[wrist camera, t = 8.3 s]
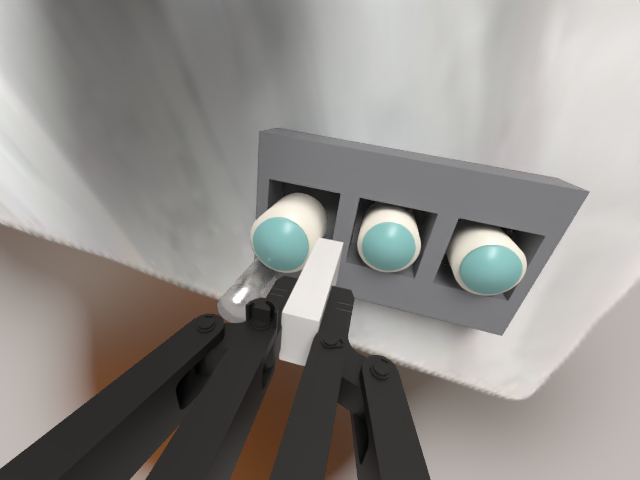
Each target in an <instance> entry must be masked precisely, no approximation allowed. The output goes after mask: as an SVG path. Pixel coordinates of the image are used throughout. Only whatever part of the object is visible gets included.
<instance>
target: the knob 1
mask: <svg viewBox="0 0 640 480" xmlns="http://www.w3.org/2000/svg"><path fill="white" fill-rule="evenodd" d="M327 227H328V218H327V214H326V211H325V209H324V208H323V206H322V205H321V203H320V202H319V201H318V200H316V199H315V198H314V197H312V196H310V195H308V194H304V193H291V194H288V195H286V196H284V197H283V198H281V199H280V200H279V201H278V202H277V203H276V204H274V205H273V206H272V207H271V208H270V209H268V210H267V211H266V212H265V213H264V214H262V215H261V216H260V217H259V218H258V219H257V220H256V221H255V222H254V224H253V226H252V228H251V232H250V242H251V246H252V249H253V251H254V253H255V255H256V256H257V257H258V259H259V260H260V261H261V262H262V263H263V264H265V265H266V266H267V267H269V268H271V269H273V270H275V271H278V272H283V273H292V272H297V271H300V270H302V269H303V268H304V266H305V264H306V262H307V260H308V258H309V256H310V254H311V252H312V250H313V248H314V246H315V244H316V242H317V240H318V238H323V237H324V235H325V233H326V230H327Z"/></svg>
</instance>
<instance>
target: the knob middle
mask: <svg viewBox="0 0 640 480" xmlns="http://www.w3.org/2000/svg"><path fill="white" fill-rule="evenodd" d="M357 247H358V252H359V255H360V257H361V258H362V260H363V261H364V262H365V263H366V264H367V265H368V266H370V267H371V268H373V269H375V270H378V271H381V272H397V271H401V270H403V269H405V268H407V267H409V266H410V265H411V264H412V263H413V262H414V261H415V260H416V259H417V257H418V255H419V253H420V248H421V241H420V237H419V232H418V228H417V224H416V220H415V216H414V213H413V211H412V210H411V209H410V208H408V207H403V206H398V205H393V204H388V203H384V202H379V201H377V202H376V203H374V204H372V205H371V206H370V207H369V208H368V209H367V210H366V212H365V214H364V216H363V220H362V224H361V228H360V232H359V236H358V242H357Z"/></svg>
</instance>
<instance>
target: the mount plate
mask: <svg viewBox="0 0 640 480" xmlns="http://www.w3.org/2000/svg"><path fill="white" fill-rule="evenodd" d="M284 182H287V183H291V184H296V185H301V186H306V187H311V188H316V189H321V190H325V191H330V192H335V193H340V194H341V195H340V201H339V206H338V212H337V217H336V222H335V228H334V233H333V239H332V238H328V237H323V238H324V239H329V240H334V241H339V242H344V243H343V249H342V254H341V260H340V266H339V271H338V277H337V282H336V285H335V286H336V287H340V288H345V289H349V290H352V293H353V295H354V298H357V299H361V300H364V301H368V302H372V303H376V304H380V305H384V306H388V307H392V308H396V309H400V310H403V311H407V312H411V313H415V314H419V315H423V316H427V317H431V318H435V319H438V320H442V321H446V322H450V323H454V324H458V325H462V326H466V327H470V328H474V329H477V330H481V331H485V332H489V333H493V334H497V335H501V336H502V335H503V333H504V332H505V330H506V328H507V327H508V325H509V323H510V322H511V320H512V319H513V317H514V315H515V314H516V312H517V310H518V309H519V307H520V305H521V304H522V302H523V300H524V299H525V297H526V296H527V294H528V292H529V291H530V289H531V287H532V286H533V284H534V282H535V281H536V279H537V278H538V276H539V274H540V273H541V271H542V269H543V268H544V266H545V264H546V263H547V261H548V259H549V258H550V256H551V255H552V253H553V251H554V250H555V248H556V246H557V245H558V243H559V241H560V240H561V238H562V237H563V235H564V233H565V232H566V230H567V228H568V227H569V225H570V223H571V222H572V220H573V218H574V217H575V215H576V214H577V212H578V210H579V209H580V207H581V205H582V204H583V202H584V200H585V199H586V197H587V196H588V194H589V191H587V190H584V189H582V188H580V187H577V186H575V185H572V184H570V183H568V182H565V181H563V180H560V179H558V178H554V177H548V176H543V175H537V174H532V173H526V172H520V171H515V170H509V169H504V168H498V167H492V166H487V165H481V164H476V163H470V162H465V161H459V160H453V159H448V158H442V157H437V156H431V155H425V154H420V153H414V152H409V151H403V150H398V149H392V148H386V147H381V146H375V145H370V144H364V143H358V142H353V141H347V140H342V139H336V138H331V137H325V136H319V135H314V134H308V133H303V132H297V131H291V130H286V129H280V128H276V129H270V130H264V131H259V153H258V179H257V206H256V220H257V219H258V218H259V217H260V216H261V215H262V214H264V213H265V212H266V211H267V210H268V209H270V208H271V207H272V206H273V205H274V204H276V203H277V202H278V201H279V200H280V199H281V198H283V191H284ZM361 198H364V199H369V200H374V201H379V202H384V203H388V204H393V205H398V206H403V207H408V208H413V209H417V210H422V211H427V212H426V215H425V218H424V221H423V224H422V227H421V230H420V233H419V237H420V241H421V248H420V253H419V255H418V257H417V259H416V260H415V261H414V262H413V263H412V264H411V265H410V266H409V267H407V268H405V269H403V270H401V271H397V272H381V271H378V270H375V269H373V268H371V267H370V266H368V265H367V264H366V263H365V262H364V261H363V260H362V258H361V257H360V255H359V252H358V247H357V244H354V243H351V241H352V236H353V232H354V227H355V222H356V218H357V213H358V209H359V204H360V200H361ZM459 218H461V219H466V220H471V221H476V222H480V223H485V224H490V225H495V226H500V227H505V228H510V229H514V230H515V231H514V233H513V235H512V237H511V240H512V241H513V242H514V243H515V244H516V245H517V246H518V247H519V249H520V250H521V251H522V252H523V253H524V255H525V257H526V261H527V268H526V272H525V274H524V276H523V278H522V279H521V281H520V282H519V283H518V284H517V285H516V286H514V287H513V288H512V289H510V290H508V291H506V292H503V293H500V294H496V295H487V296H485V295H477V294H473V293H471V292H468V291H466V290H465V289H463V288H462V287H461V286H460V285H459V284H458V282H457V281H456V279H455V276H454V274H453V271H452V269H451V266H450V265H445V264H441V261H442V259H443V256H444V254H445V251H446V249H447V246H448V244H449V241H450V239H451V236H452V234H453V231H454V229H455V226H456V224H457V222H458V219H459ZM256 258H257V256H256V255H255V258H254V260H255V259H256ZM302 270H303V269H302ZM302 270H300V271H297V272H292V273H283V272H278V273H277V275H276V276H275V278H281V277H282V276H289V277H293V278H297V279H299V277H300V275H301V272H302Z"/></svg>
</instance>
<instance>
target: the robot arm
mask: <svg viewBox="0 0 640 480" xmlns="http://www.w3.org/2000/svg"><path fill="white" fill-rule="evenodd" d="M343 243H344V242H339V241H334V240H329V239H324V238H318V240H317V242H316V244H315V246H314V248H313V250H312V252H311V254H310V256H309V258H308V260H307V262H306V264H305V266H304V268H303V270H302V272H301V275H300V277H299V279H297V278H293V277H289V276H282V277H281V278H279V279H278V280H276V282H275V284H274V285H273V287H272V289H271V290H270V292H269V294H268V295H267V297H266V298H257V299H254V300H251V301H249V302H248V303H247V304H246V305H245V308H246V321H244V322H240V323H224V321H223V319H222V318H221V317H220V316H218V315H215V314H205V315H201V316H199V317H197V318H195V319H193V320H192V321H191V322H190V323H188V324H187V325H186V326H184V327H183V328H182V329H181V330H179V331H178V332H177V333H176V334H174V335H173V336H172V337H170V338H169V339H168V340H166V341H165V342H164V343H163V344H161V345H160V346H159V347H157V348H156V349H155V350H153V351H152V352H151V353H150V354H148V355H147V356H146V357H144V358H143V359H142V360H141V361H139V362H138V363H137V364H135V365H134V366H133V367H132V368H130V369H129V370H128V371H126V372H125V373H124V374H122V375H121V376H120V377H118V378H117V379H116V380H115V381H113V382H112V383H111V384H109V385H108V386H107V387H106V388H104V389H103V390H102V391H100V392H99V393H98V394H97V395H95V396H94V397H93V398H91V399H90V400H89V401H88V402H87V403H85V404H84V405H82V406H81V407H80V408H78V409H77V410H76V411H75V412H73V413H72V414H71V415H69V416H68V417H67V418H66V419H64V420H63V421H62V422H60V423H59V424H58V425H56V426H55V427H54V428H53V429H51V430H50V431H49V432H47V433H46V434H45V435H43V436H42V437H41V438H40V439H38V440H37V441H36V442H35V443H33V444H32V445H31V446H29V447H28V448H27V449H25V450H24V451H23V452H21V453H20V454H19V455H18V456H16V457H15V458H14V459H12V460H11V461H10V462H9V463H7V464H6V465H5V466H3V467H2V468H1V469H0V480H130V479H131V477H132V476H133V475H134V474H135V473H136V472H137V471H138V470H139V469H140V468H141V466H142V465H143V464H144V463H145V462H146V461H147V460H148V459H149V458H150V457H151V455H152V454H153V453H154V452H155V451H156V450H157V449H158V448H159V447H160V446H161V444H162V443H163V442H164V441H165V440H166V439H167V438H168V437H169V436H170V435H171V433H172V432H173V431H174V430H175V429H176V428H177V427H178V426H179V425H180V426H179V428H178V429H177V431H176V432H175V434H174V435H173V437H172V438H171V440H170V442H169V443H168V445H167V447H166V448H165V450H164V451H163V453H162V454H161V456H160V457H159V459H158V461H157V462H156V464H155V465H154V467H153V469H152V470H151V472H150V474H149V475H148V476H147V478H146V480H230V478H231V476H232V473H233V471H234V468H235V466H236V464H237V461H238V459H239V456H240V453H241V451H242V449H243V446H244V444H245V441H246V439H247V436H248V434H249V432H250V429H251V427H252V425H253V422H254V420H255V417H256V415H257V412H258V410H259V407H260V405H261V403H262V400H263V398H264V395H265V393H266V390H267V388H268V386H269V383H270V380H271V378H272V376H273V373H274V370H275V365H276V359H277V357H278V355H279V359H280V360H284V361H287V362H291V363H295V364H298V365H302V366H305V367H304V371H303V374H302V377H301V380H300V383H299V387H298V390H297V393H296V396H295V399H294V402H293V406H292V409H291V412H290V415H289V418H288V422H287V425H286V428H285V432H284V435H283V438H282V441H281V444H280V447H279V451H278V454H277V457H276V460H275V464H274V467H273V470H272V473H271V476H270V479H269V480H324V478H325V472H326V466H327V460H328V454H329V448H330V442H331V436H332V430H333V425H334V419H335V413H336V407H337V403H339V404H340V405H342V406H343V407H345V408H346V409H348V410H349V411H350V416H351V424H352V433H353V442H354V451H355V460H356V469H357V478H358V480H430V476H429V473H428V469H427V466H426V463H425V459H424V456H423V453H422V449H421V446H420V443H419V439H418V436H417V433H416V429H415V426H414V422H413V419H412V416H411V412H410V409H409V406H408V402H407V399H406V396H405V392H404V389H403V386H402V382H401V379H400V376H399V372H398V370H397V368H396V366H395V365H394V364H393V363H392V362H391V361H390V360H389V359H387V358H385V357H384V356H379V355H372V356H369V357H367V358H366V357H364V356H362V355H361V354H359V353H357V352H356V351H355V350H354V349H353V348H352V347H351V345H350V343H349V340H348V333H349V327H350V321H351V315H352V309H353V303H354V295H353V293H352V290H349V289H345V288H340V287H336V286H335V285H336V282H337V277H338V271H339V266H340V260H341V254H342V249H343ZM181 422H182V423H181Z"/></svg>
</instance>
